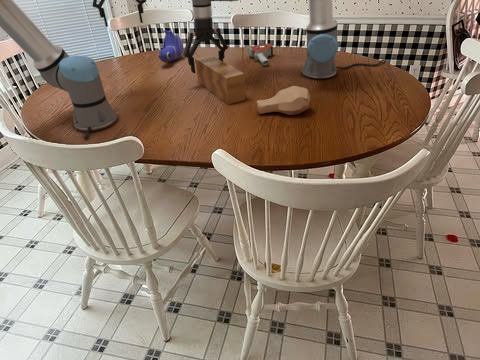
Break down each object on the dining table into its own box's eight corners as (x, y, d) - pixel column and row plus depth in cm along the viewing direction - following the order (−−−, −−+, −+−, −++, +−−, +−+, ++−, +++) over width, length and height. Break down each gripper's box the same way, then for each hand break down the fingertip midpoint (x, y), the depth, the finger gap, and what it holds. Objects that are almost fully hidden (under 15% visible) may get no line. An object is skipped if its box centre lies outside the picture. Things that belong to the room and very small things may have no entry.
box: (245, 99, 143) (244, 73, 137) (228, 104, 140) (226, 78, 134) (213, 78, 165) (211, 55, 158) (198, 82, 162) (195, 58, 155)
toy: (171, 62, 199) (152, 68, 177) (167, 30, 192) (146, 32, 170) (188, 61, 197) (171, 67, 175) (184, 29, 190) (166, 30, 168)
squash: (314, 116, 128) (313, 95, 122) (259, 125, 130) (256, 105, 124) (308, 99, 136) (307, 78, 129) (257, 108, 138) (253, 88, 131)
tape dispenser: (265, 70, 173) (284, 55, 186) (265, 59, 170) (284, 45, 183) (235, 63, 181) (255, 50, 193) (235, 53, 177) (255, 40, 190)
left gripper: (144, -41, 136) (154, 19, 148) (75, -36, 130) (92, 25, 143) (146, -40, 130) (156, 22, 142) (74, -35, 125) (91, 29, 137)
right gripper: (225, 11, 151) (228, 61, 164) (170, 20, 142) (178, 72, 154) (234, 14, 146) (236, 65, 158) (177, 23, 136) (184, 77, 149)
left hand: (124, 24), depth 143 cm, fingers open, 13 cm apart
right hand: (207, 69), depth 156 cm, fingers open, 13 cm apart
